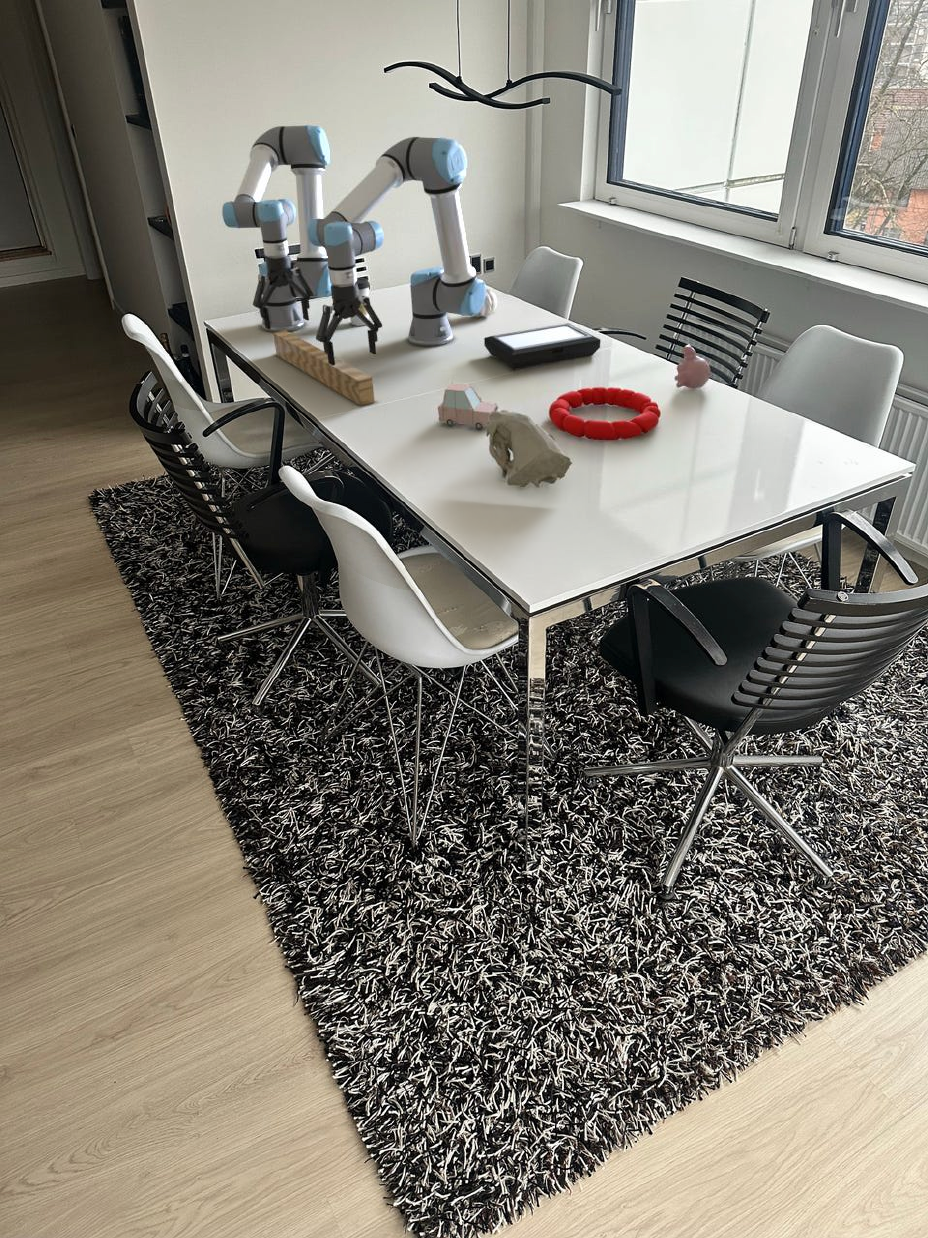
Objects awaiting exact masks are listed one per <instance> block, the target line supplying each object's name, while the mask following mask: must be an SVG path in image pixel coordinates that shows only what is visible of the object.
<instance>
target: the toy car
mask: <svg viewBox="0 0 928 1238" xmlns="http://www.w3.org/2000/svg"><path fill="white" fill-rule="evenodd" d="M498 409H499V404H498V403H497V402H490V401H489V402H487V401H483V397H481V396H480V395H479V394H478V393H477V391H476V390H475V389H474V386H472V384H469V383H459V382H451V383H450V384H449V385H448V386H447V387H446V388H445V389H444V394H443V399H442V403H440V404H439V405H438V406H437V413H438V421H439V422H443V423H446V425H447V426H448V427H452V426H454V425H455V424H461V425H469V426H473V427H475V429H476V430H479V431H480V430H481V429H483V428H485V427H486V428H487V423H488V422H490V414H491V413H492V412H496V411H499V410H498Z"/></svg>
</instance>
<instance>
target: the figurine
mask: <svg viewBox="0 0 928 1238" xmlns="http://www.w3.org/2000/svg"><path fill="white" fill-rule="evenodd" d="M682 354H683V358H684V359H683V361H682V362H679V363H678V364H677V365H676V372H677V375H675V376H674V381H675V382H676V381H677V382H676V384H675V386H676V388H681V387H686V388H688V389H693V390H694V389H695V390H696V389H700V388H703V387H704V386H705V385H706V384H707V383H708V382H709V379H710V377H711V367H710V364H709V362H708V361H706V359H704V358H702V357H700V356H697V353H696V350H695V349H694V347H692V345H690V344H686V345H685V346H684V347H683V348H682Z"/></svg>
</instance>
